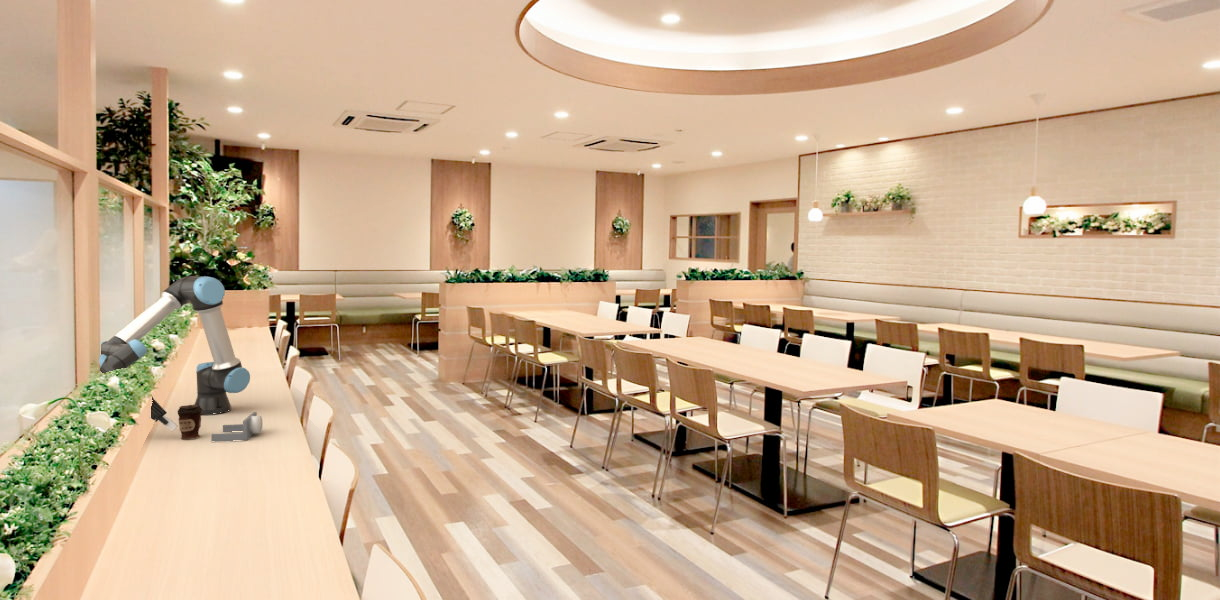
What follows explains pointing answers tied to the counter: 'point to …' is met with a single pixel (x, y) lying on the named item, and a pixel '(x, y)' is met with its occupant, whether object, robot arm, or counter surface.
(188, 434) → the coffee cup
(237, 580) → the counter surface
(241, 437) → the bracket
